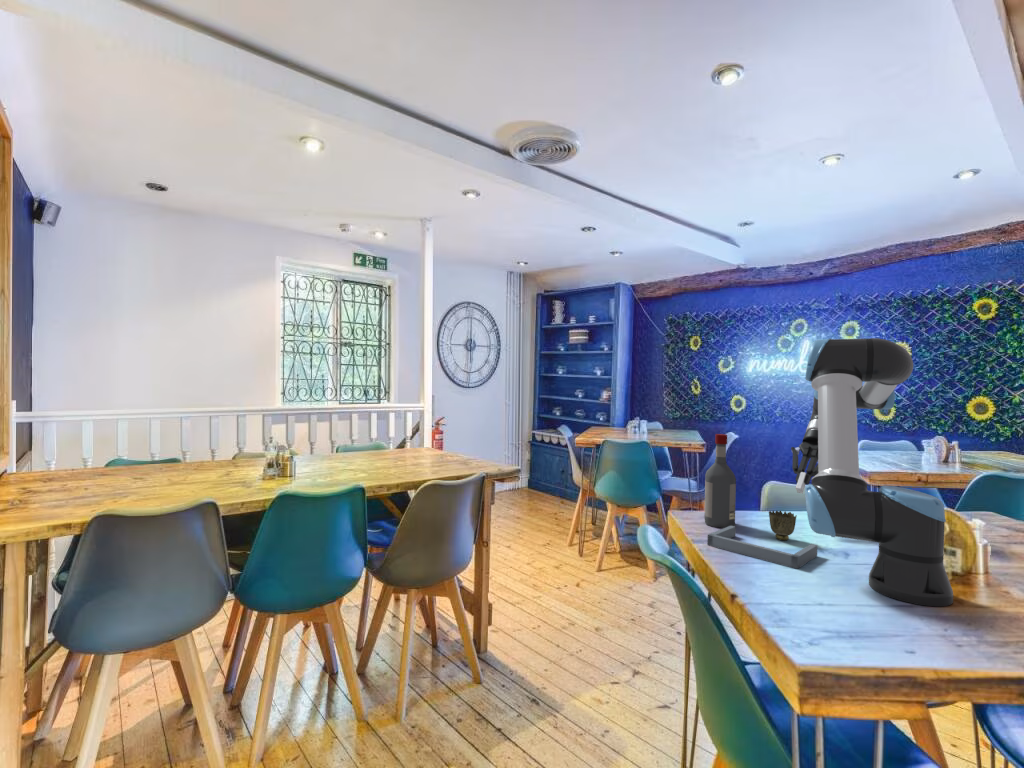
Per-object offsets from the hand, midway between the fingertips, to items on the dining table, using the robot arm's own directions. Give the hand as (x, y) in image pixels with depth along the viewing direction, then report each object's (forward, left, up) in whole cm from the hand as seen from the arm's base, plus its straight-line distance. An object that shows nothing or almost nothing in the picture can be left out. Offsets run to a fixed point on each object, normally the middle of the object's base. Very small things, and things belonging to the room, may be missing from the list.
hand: (799, 490), depth 163 cm
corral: (0, +29, -13) cm, 32 cm away
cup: (0, +14, -13) cm, 19 cm away
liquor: (+20, +13, -13) cm, 27 cm away
